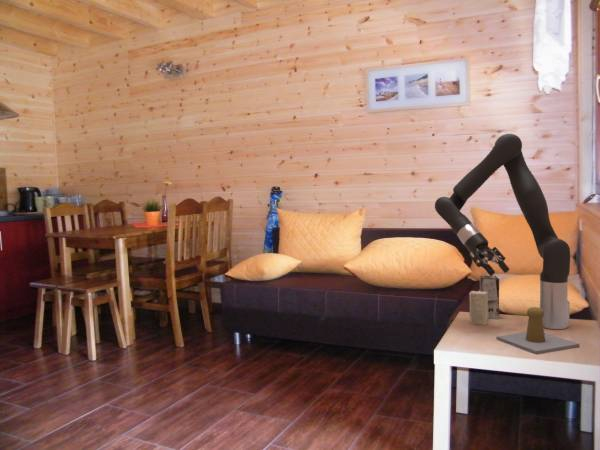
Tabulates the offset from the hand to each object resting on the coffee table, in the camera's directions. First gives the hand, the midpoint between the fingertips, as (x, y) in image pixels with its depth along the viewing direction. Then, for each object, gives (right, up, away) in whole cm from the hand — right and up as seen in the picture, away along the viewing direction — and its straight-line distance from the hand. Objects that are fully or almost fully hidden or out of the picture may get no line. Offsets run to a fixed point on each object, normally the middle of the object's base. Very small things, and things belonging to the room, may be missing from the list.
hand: (500, 272), depth 184 cm
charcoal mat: (+9, -23, -9) cm, 26 cm away
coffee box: (+6, -21, +28) cm, 36 cm away
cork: (+8, -22, -9) cm, 25 cm away
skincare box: (-1, -21, +18) cm, 28 cm away
